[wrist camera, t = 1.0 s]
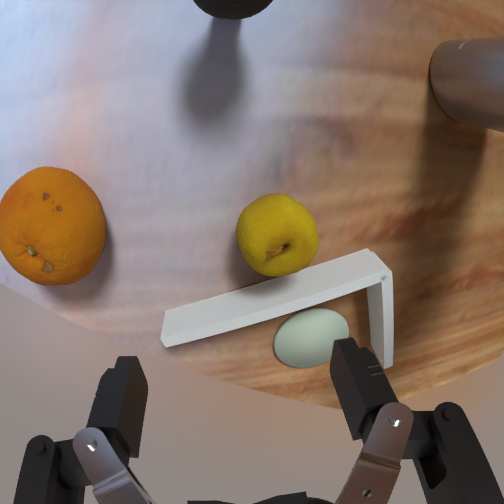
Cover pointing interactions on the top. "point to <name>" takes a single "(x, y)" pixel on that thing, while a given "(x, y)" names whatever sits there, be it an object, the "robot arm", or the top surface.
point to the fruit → (51, 226)
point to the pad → (309, 337)
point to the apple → (277, 235)
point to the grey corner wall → (293, 302)
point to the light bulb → (232, 8)
